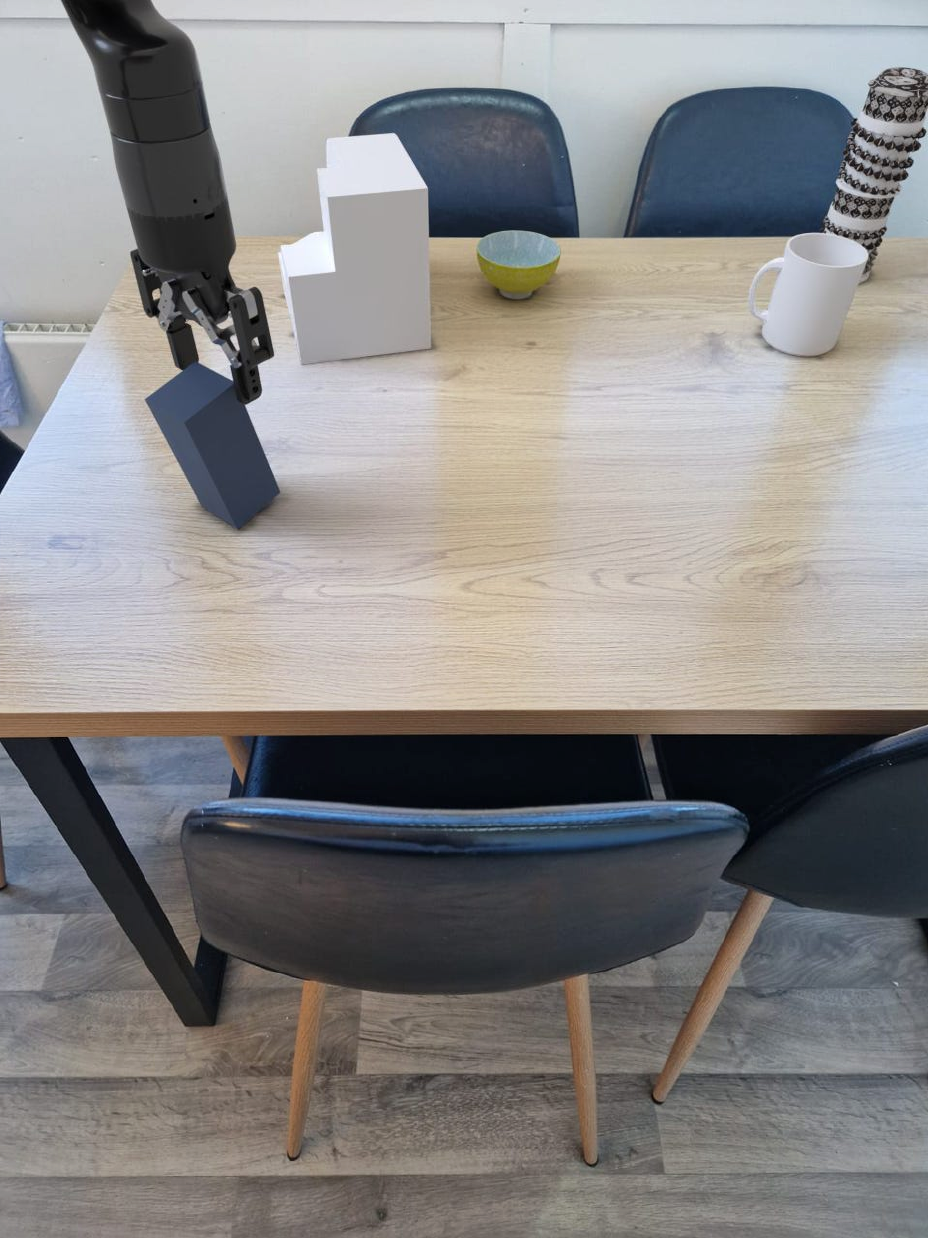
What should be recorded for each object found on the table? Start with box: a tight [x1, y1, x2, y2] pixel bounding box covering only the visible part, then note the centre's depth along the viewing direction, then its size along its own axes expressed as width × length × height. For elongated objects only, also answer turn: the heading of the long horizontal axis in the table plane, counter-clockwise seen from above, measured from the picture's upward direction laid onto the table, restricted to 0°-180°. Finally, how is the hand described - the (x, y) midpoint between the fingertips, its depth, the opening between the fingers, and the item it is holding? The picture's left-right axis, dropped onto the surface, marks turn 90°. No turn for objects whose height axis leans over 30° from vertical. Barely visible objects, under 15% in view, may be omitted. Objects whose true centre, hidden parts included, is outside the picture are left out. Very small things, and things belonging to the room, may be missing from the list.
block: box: [277, 132, 432, 365], centre depth 105 cm, size 25×16×19 cm, turn 15°
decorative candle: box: [819, 66, 928, 284], centre depth 112 cm, size 9×9×25 cm
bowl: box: [476, 230, 562, 300], centre depth 114 cm, size 11×12×6 cm
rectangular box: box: [144, 361, 281, 531], centre depth 78 cm, size 14×6×6 cm
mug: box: [747, 232, 868, 358], centre depth 104 cm, size 10×12×12 cm
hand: (218, 382), depth 75 cm, fingers open, 8 cm apart
